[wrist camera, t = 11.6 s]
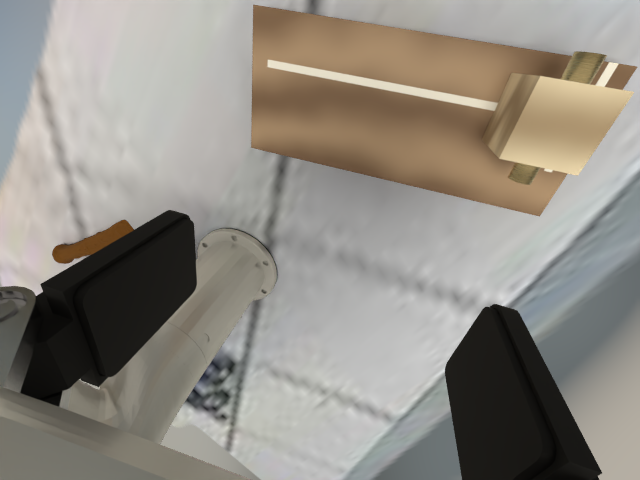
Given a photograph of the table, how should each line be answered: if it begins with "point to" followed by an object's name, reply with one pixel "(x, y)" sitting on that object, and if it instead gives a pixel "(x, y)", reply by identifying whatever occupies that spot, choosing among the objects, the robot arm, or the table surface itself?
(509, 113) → the marking gauge
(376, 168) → the board
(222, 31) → the table surface
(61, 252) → the primitive tool
